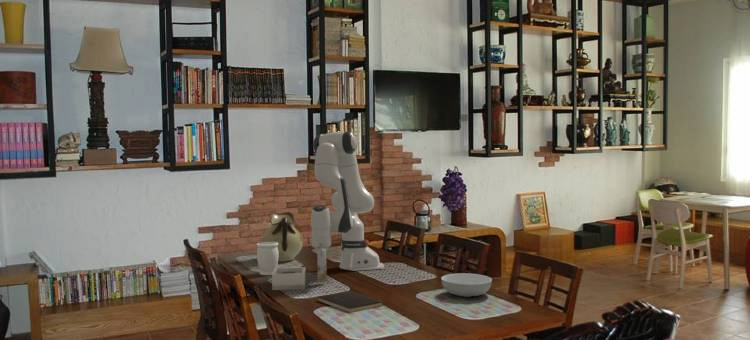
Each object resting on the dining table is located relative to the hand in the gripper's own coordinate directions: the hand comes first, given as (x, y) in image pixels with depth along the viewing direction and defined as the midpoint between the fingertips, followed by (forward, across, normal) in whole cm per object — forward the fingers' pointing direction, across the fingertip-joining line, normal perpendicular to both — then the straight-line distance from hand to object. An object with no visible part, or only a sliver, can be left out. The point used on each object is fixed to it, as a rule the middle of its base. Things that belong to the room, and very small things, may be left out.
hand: (322, 272), depth 295 cm
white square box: (+5, -2, +15) cm, 16 cm away
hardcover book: (+6, -35, -11) cm, 37 cm away
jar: (+6, +26, +26) cm, 37 cm away
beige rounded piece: (+6, +62, +21) cm, 66 cm away
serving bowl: (+6, -28, -60) cm, 66 cm away
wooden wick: (+4, 0, 0) cm, 4 cm away
